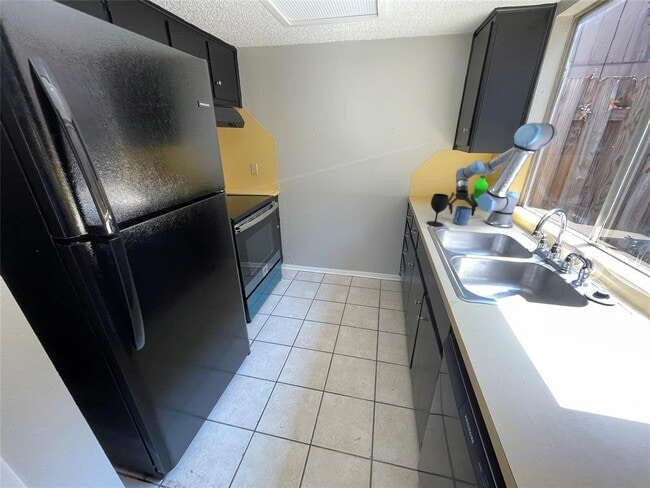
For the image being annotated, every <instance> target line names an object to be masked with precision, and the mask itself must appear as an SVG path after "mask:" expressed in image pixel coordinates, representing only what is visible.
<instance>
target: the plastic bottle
mask: <svg viewBox="0 0 650 488" xmlns="http://www.w3.org/2000/svg"><path fill="white" fill-rule="evenodd" d="M479 178H480V179H479V180H477V181H475V182H474V183H473V188H474V189H473V193H472V194H473V197H474V198H475V200H476V201H478V198H479V196H480V195H482V194H485V193H486V191H487V189H488V188H489V184H488V182H487V181H486V178H487V175H485V174H481V175H480V176H479ZM469 199H470V198H469ZM470 200H471V199H470Z"/></svg>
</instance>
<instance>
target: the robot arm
mask: <svg viewBox="0 0 650 488" xmlns="http://www.w3.org/2000/svg"><path fill="white" fill-rule="evenodd" d="M557 135H558V129H557V127H556V126H555V125H554V124H552V123H544V122H543V123H542V122H528V123H525V124H523V125H521V126H520V127H519V128H518V129H517V130H516V131H515V133H514V135H513V139H514V140H513V142H514V143H513V145H512V147H511V148H509V149H508V150H507V151H504V152H503V153H501V154H499V155H498V156H495V157H494V158H492V159H490V160H489V161H487V162H482V161H480V160H474V161H473V162H471V163H470V164H469V165H467V166H466V167H460V168H457V170H456V172H455V192H454V191H452V192H451V194H450V196H449V201H448V205H447V207H448V210H449V215H452V214H453V211H454V210H453V207H454V205H453V204H454V203H455V202H456V201H457V200H459V201H464V202H466V203H467V204H468V205H469V206H470V208H471V211H470V215H471V217H473V216H475V212H476V209H477V208H478V209H479V210H480V211H482V212H485V213H490V214H489V215H488V216H487V218H486V221H485V222H486V224H488V225H490V226H492V227H497V228H504V229H509V228H512V227H513V223H514V222H513V215H514V211H515V208H516V206H517V202H518V200H519V196H520V194H519V192H515V191H512V190H511V191H510V190H509V189H510V187H511V185H512V184H513V183H514V181H515V179H516V178H517V176H518V175H519V173H520V172H521V170H522V168H523V167H524V165H525V164H526V163H527V161H528V159H529V157H530V156H531V155H533V154H535V153H537V151H539V150H541V149H543V148H545V147H547V146H549V145H550V144H552V143H553V142H554V141H555V139H556V138H557V137H558V136H557ZM502 167H503V168H502ZM501 168H502V169H501ZM499 169H501V171H500V172H499V174H498V175H497V178H496V179H495V181H494V183H493V184H492V186H490V187H488V188H487V189H486V190H485V192H484V194H482V195H480V196H479V198H478V201H476V200H475V198H474V197H473V193H471V194H469V179H470V178H472V177H474V176H477V175H480V176H481V175H486V176H488V175H492V174H494V173H495V172H496V171H497V170H499ZM453 197H455V198H453ZM452 199H453V200H452ZM470 199H471V200H470Z"/></svg>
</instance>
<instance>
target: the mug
mask: <svg viewBox="0 0 650 488" xmlns="http://www.w3.org/2000/svg"><path fill="white" fill-rule="evenodd" d="M471 208H472V207H471V206H470V207H469V206H467V205H456V206H455V211H454V215H453V218H452V223H453V224H455V225H459V226H467V225H468V223H469V218H470V215H471Z"/></svg>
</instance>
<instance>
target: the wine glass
mask: <svg viewBox="0 0 650 488" xmlns="http://www.w3.org/2000/svg"><path fill="white" fill-rule="evenodd" d="M449 198H450V196H449V195H448V194H446V193H434V194H433V195H432V197H431V200H430V205H431V206H430V208H431V209H432V210H433V211H434V212H435V218H434V220H429V221H426V225H428V226H430V227H435V228H440V227H443V226H444V224H443V223H442V222H439V221H437V220H438V216H439V214H440V213H442V212H444V211H445V210H446V209H447V207H448V201H449Z"/></svg>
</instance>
